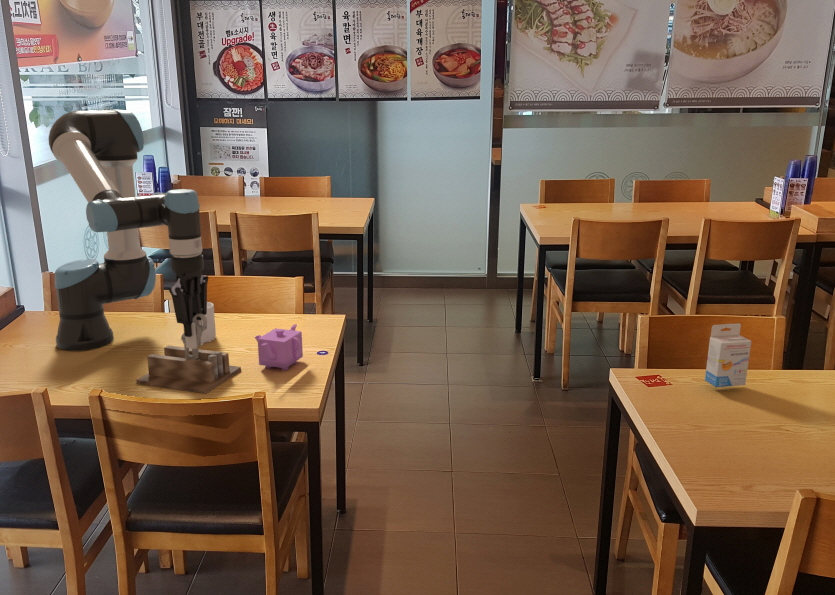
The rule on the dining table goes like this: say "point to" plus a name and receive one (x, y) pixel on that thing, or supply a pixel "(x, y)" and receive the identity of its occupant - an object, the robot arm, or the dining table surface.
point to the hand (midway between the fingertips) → (194, 346)
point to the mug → (209, 324)
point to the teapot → (280, 348)
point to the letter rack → (188, 370)
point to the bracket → (198, 335)
